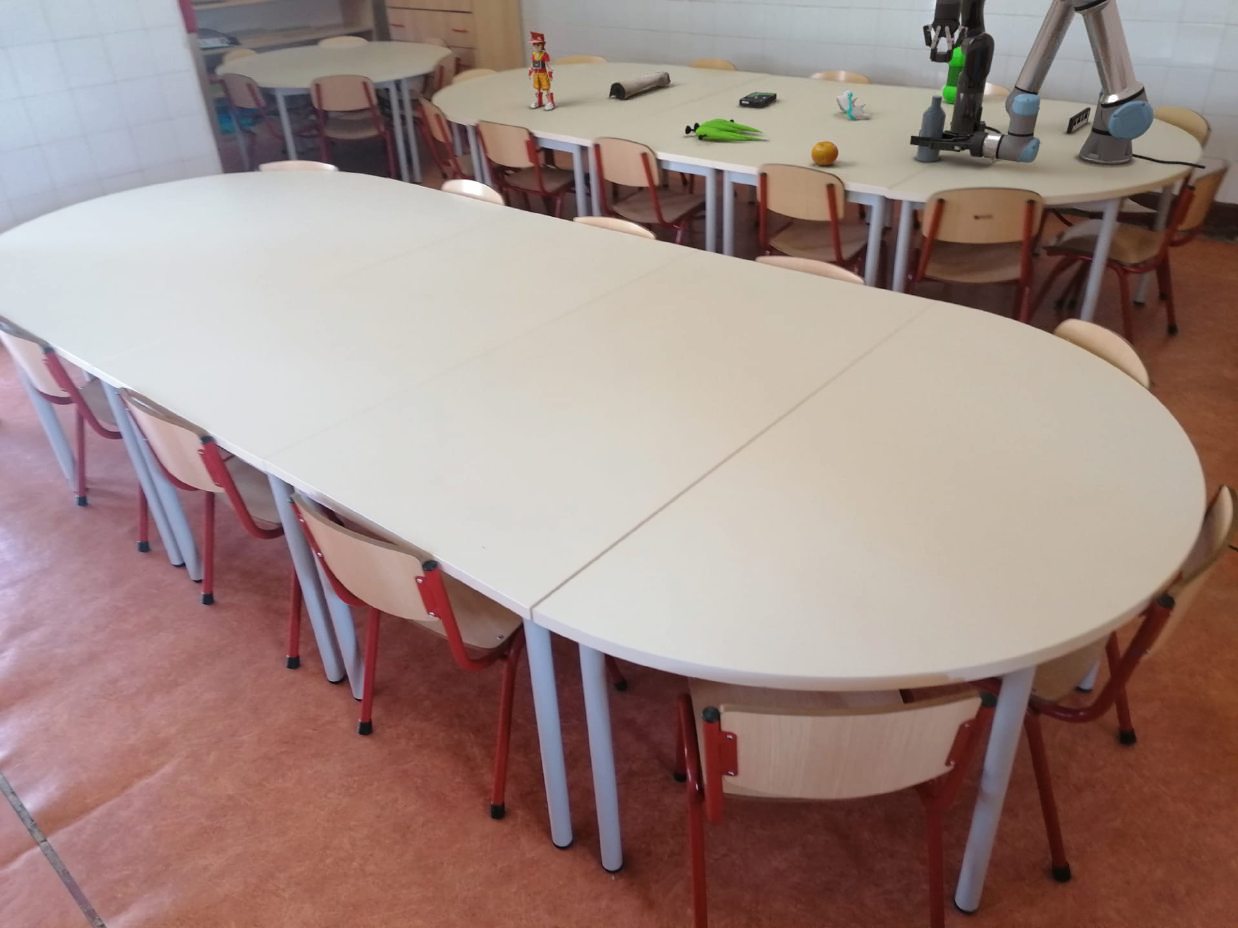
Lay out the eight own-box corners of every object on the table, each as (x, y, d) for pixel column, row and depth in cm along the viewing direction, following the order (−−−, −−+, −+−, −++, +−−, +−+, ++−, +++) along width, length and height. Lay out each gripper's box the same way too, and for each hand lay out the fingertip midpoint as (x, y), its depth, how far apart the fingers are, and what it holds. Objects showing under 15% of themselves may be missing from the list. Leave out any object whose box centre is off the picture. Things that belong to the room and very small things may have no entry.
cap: (938, 59, 282) (939, 51, 281) (950, 61, 280) (951, 52, 278) (931, 62, 280) (932, 53, 278) (943, 63, 277) (944, 54, 276)
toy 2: (674, 138, 327) (749, 153, 315) (675, 124, 324) (751, 138, 312) (709, 126, 347) (780, 139, 335) (710, 112, 345) (782, 125, 332)
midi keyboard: (1070, 133, 311) (1073, 118, 308) (1066, 133, 312) (1069, 118, 309) (1087, 122, 322) (1091, 107, 319) (1084, 121, 322) (1087, 107, 319)
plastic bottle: (973, 101, 354) (984, 32, 339) (955, 106, 349) (966, 36, 335) (952, 97, 361) (962, 29, 346) (934, 102, 356) (944, 33, 342)
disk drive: (762, 109, 362) (776, 100, 372) (762, 101, 360) (777, 93, 370) (738, 106, 367) (753, 98, 377) (738, 99, 365) (754, 91, 375)
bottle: (932, 163, 293) (942, 100, 281) (912, 159, 297) (921, 97, 285) (942, 158, 297) (953, 95, 285) (922, 154, 301) (932, 92, 289)
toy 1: (525, 109, 381) (517, 32, 364) (534, 104, 388) (527, 28, 371) (550, 110, 377) (543, 32, 360) (559, 105, 384) (553, 28, 367)
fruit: (804, 156, 294) (819, 134, 291) (809, 158, 302) (823, 137, 299) (825, 170, 293) (840, 148, 290) (829, 172, 300) (844, 151, 297)
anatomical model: (831, 89, 347) (857, 82, 346) (834, 116, 353) (859, 109, 352) (842, 98, 335) (869, 91, 334) (845, 126, 341) (871, 118, 340)
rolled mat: (651, 76, 408) (662, 61, 399) (662, 93, 408) (674, 79, 400) (605, 92, 391) (616, 77, 383) (617, 110, 391) (628, 95, 383)
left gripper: (921, 1, 271) (913, 62, 281) (967, 4, 264) (958, 66, 273) (931, -2, 276) (923, 58, 286) (977, 0, 268) (967, 61, 278)
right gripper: (973, 165, 280) (902, 156, 291) (993, 149, 293) (924, 141, 304) (978, 141, 275) (905, 133, 287) (997, 125, 288) (927, 118, 300)
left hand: (940, 61), depth 280 cm, fingers closed on cap, 4 cm apart
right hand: (915, 137), depth 295 cm, fingers closed on bottle, 7 cm apart
